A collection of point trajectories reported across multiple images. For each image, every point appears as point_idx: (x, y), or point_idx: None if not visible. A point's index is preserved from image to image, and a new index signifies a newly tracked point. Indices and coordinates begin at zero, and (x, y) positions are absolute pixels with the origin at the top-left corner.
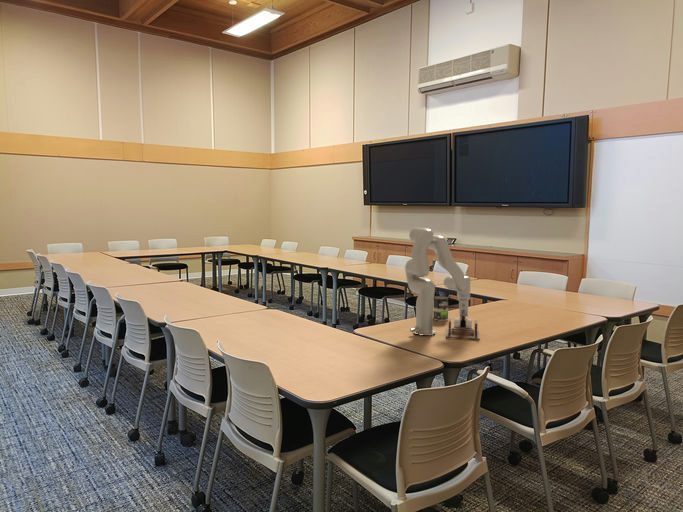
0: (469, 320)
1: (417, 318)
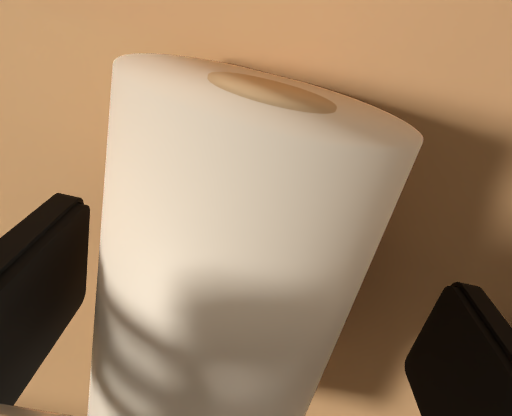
0: (356, 233)
1: None
